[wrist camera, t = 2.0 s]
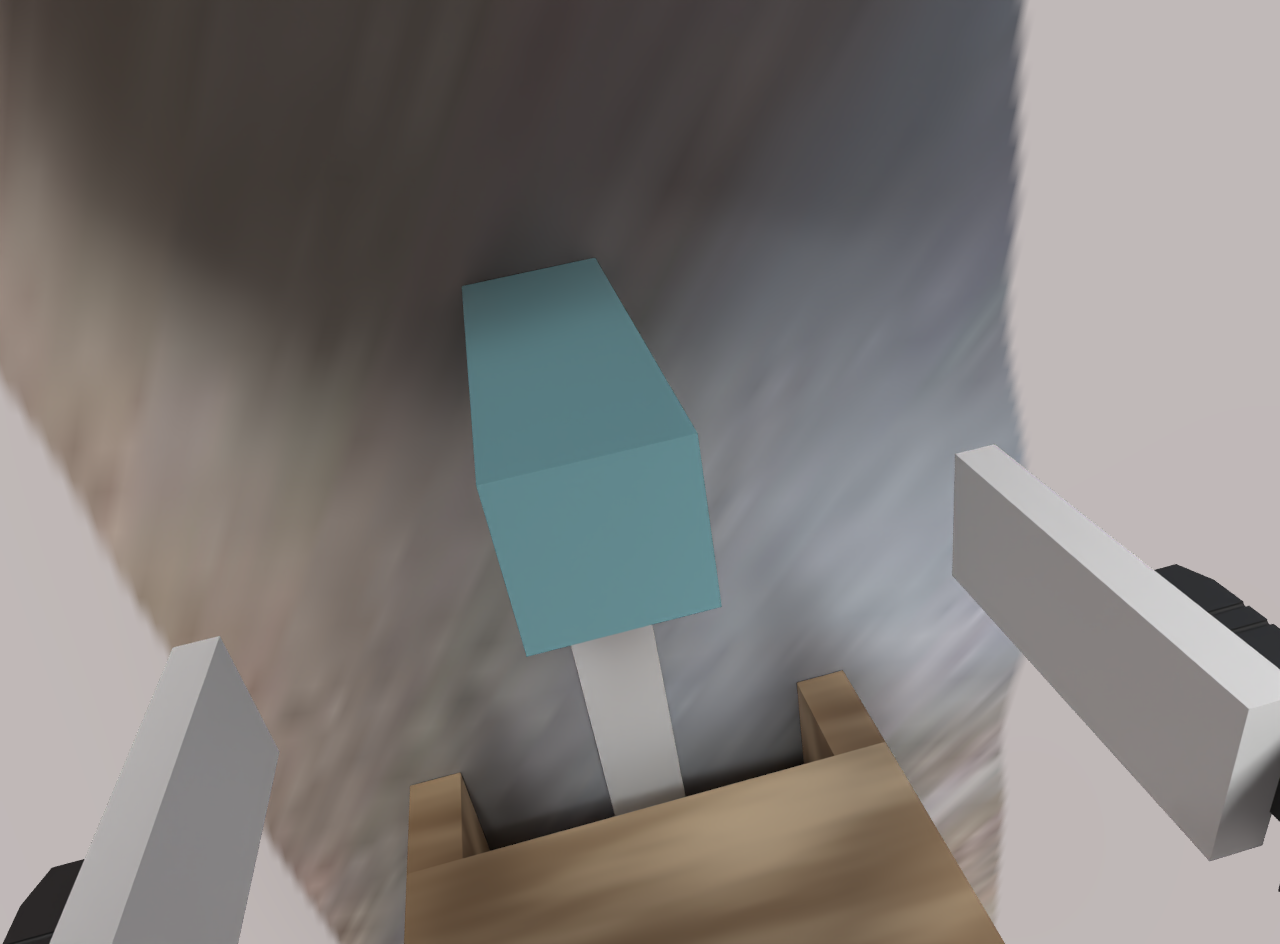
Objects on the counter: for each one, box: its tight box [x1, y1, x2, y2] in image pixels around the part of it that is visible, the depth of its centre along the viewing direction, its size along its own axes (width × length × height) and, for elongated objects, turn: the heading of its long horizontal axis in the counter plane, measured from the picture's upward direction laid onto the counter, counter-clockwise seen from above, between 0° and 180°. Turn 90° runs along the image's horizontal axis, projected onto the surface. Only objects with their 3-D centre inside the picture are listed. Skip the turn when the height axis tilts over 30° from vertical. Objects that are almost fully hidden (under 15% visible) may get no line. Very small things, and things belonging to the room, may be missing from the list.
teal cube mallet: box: [462, 258, 722, 816], centre depth 27 cm, size 26×4×12 cm, turn 9°
